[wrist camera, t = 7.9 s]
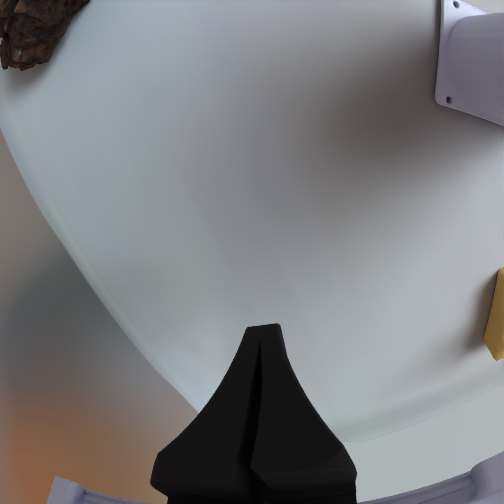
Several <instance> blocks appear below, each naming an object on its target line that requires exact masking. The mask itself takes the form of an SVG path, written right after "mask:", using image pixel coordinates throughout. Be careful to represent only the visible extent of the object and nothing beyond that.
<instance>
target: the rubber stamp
mask: <svg viewBox="0 0 504 504" xmlns="http://www.w3.org/2000/svg"><path fill="white" fill-rule="evenodd" d="M483 340H484V341H485V343H486V345H487V347H488V349H489V350H490V352H491V354H492V356H493V358H494V359H495V360H496V361H497V360H499V359H502V358H504V267H503V268H500V269H499V271H498V276H497V282H496V287H495V292H494V297H493V302H492V306H491V311H490V315H489V319H488V323H487V327H486V331H485V335H484V338H483Z"/></svg>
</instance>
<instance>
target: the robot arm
mask: <svg viewBox="0 0 504 504" xmlns="http://www.w3.org/2000/svg"><path fill="white" fill-rule="evenodd" d="M453 2H454V3H455V4H456V8H455V7H454V5H453ZM434 97H435V101H436V102H437V104H439V105H442V106H446V107H449V108H452V109H456V110H459V111H462V112H465V113H468V114H471V115H474V116H477V117H480V118H482V119H485V120H488V121H491V122H493V123H496V124H498V125H501V126H504V13H493V14H487V13H486V12H484V11H482V10H480V9H478V8H475V7H473V6H471V5H469V4H467V3H465V2H463V1H460V0H441V26H440V45H439V58H438V69H437V79H436V87H435V95H434ZM447 97H449V99H450V101H449V102H448V103H447V102H446V98H447ZM356 477H357V471H356V468H355V465H354V463H353V461H352V459H351V458H350V456H349V454H348V453H347V451H346V449H345V447H344V445H343V444H342V443H341V442H340V441H339V440H338V438H337V437H336V436H335V435H334V434H333V433H332V431H331V430H330V429H329V428H328V426H327V425H326V424H325V422H324V421H323V420H322V418H321V417H320V415H319V414H318V413H317V411H316V410H315V408H314V407H313V405H312V404H311V402H310V401H309V399H308V397H307V396H306V394H305V392H304V391H303V389H302V387H301V385H300V383H299V381H298V380H297V377H296V375H295V373H294V371H293V369H292V367H291V365H290V362H289V359H288V357H287V353H286V348H285V344H284V339H283V335H282V330H281V326H280V325H279V324H278V323H275V324H268V325H260V326H252V327H247V328H246V330H245V333H244V336H243V338H242V341H241V343H240V346H239V348H238V350H237V353H236V355H235V357H234V359H233V361H232V363H231V365H230V367H229V369H228V371H227V373H226V375H225V376H224V378H223V380H222V382H221V383H220V385H219V387H218V388H217V390H216V391H215V393H214V394H213V396H212V397H211V399H210V400H209V401H208V403H207V404H206V405H205V407H204V408H203V409H202V410H201V412H200V413H199V414H198V415H197V417H196V418H195V419H194V420H193V421H192V422H191V423H190V424H189V426H188V427H187V428H186V429H185V430H184V431H183V432H182V433H181V434H180V435H179V436H178V437H177V438H175V439H174V440H173V441H172V442H171V443H170V444H169V445H167V446H166V447H165V448H164V449H163V450H162V451H160V452H159V453H158V455H157V457H156V460H155V463H154V466H153V470H152V475H151V480H150V483H151V485H152V486H153V487H154V488H155V489H156V490H158V491H160V492H161V493H163V494H164V495H166V496H167V497H168V501H167V504H504V452H502V453H500V454H497V455H495V456H493V457H491V458H489V459H486V460H484V461H482V462H480V463H478V464H477V465H475V466H474V467H473V468H472V469H471V471H469V472H466V473H464V474H461V475H458V476H456V477H453V478H450V479H447V480H445V481H442V482H438V483H435V484H433V485H429V486H426V487H423V488H419V489H416V490H412V491H409V492H405V493H401V494H397V495H393V496H389V497H385V498H381V499H376V500H371V501H365V502H360V503H357V501H356V485H355V481H356ZM47 504H149V503H143V502H139V501H133V500H129V499H123V498H119V497H115V496H111V495H107V494H103V493H99V492H95V491H92V490H88V489H85V488H84V487H83V486H81V485H79V484H77V483H75V482H73V481H70V480H67V479H64V478H61V477H58V476H56V477H55V479H54V482H53V485H52V488H51V491H50V494H49V497H48V501H47Z"/></svg>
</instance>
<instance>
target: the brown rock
mask: <svg viewBox="0 0 504 504" xmlns="http://www.w3.org/2000/svg"><path fill="white" fill-rule="evenodd" d="M89 1H90V0H2V2H1V4H0V6H1V10H0V37H1V38H3V40H2V41H1V44H0V57H1V64H2V68H3V70H5V69H8V66H10V67H13V68H20V70H21V71H23V70H26V69H29V68H32V67H34V65H35V64H42V63H45V62H48V61H49V60H50V58H51V55H52V52H53V50H54V47H55V46H56V45H57V44H58V42H59V40H60V38H61V37H62V36H63V34H64V33H65V31H66V29H67V27H68V26H69V23H70V19H71V17H72V15H73V14H74V13H75V11H77V10H78V9H79V8H81V7H82V6H83V5H84V3H85V2H89Z"/></svg>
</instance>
